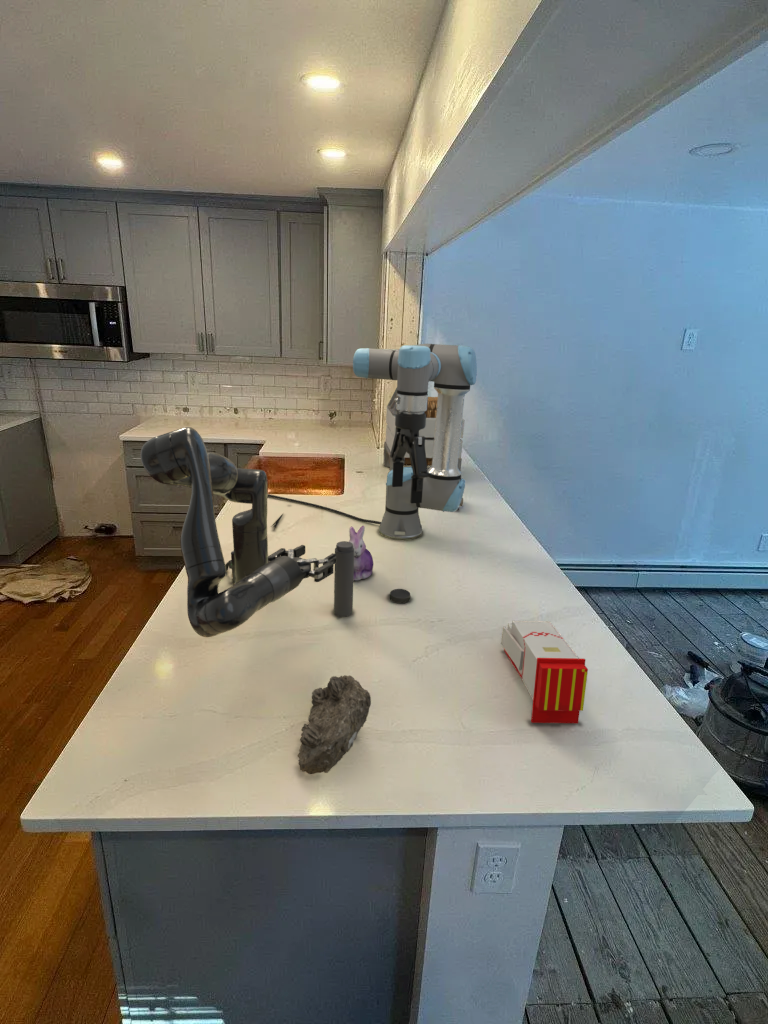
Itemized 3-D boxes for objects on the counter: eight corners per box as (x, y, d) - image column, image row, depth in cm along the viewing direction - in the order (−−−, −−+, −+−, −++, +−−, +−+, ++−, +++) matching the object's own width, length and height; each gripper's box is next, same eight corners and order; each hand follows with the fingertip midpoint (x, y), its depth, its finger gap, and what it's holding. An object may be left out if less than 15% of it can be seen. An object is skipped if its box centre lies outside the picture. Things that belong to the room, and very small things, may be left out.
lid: (395, 605, 152) (395, 599, 151) (386, 595, 157) (386, 590, 156) (413, 601, 154) (414, 596, 154) (404, 592, 159) (404, 587, 158)
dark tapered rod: (290, 508, 223) (292, 504, 223) (272, 532, 197) (275, 527, 196) (286, 505, 223) (289, 501, 223) (268, 529, 197) (271, 525, 196)
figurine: (351, 584, 162) (352, 535, 157) (337, 569, 170) (338, 523, 165) (380, 578, 166) (383, 531, 161) (365, 564, 174) (367, 519, 169)
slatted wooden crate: (382, 463, 289) (386, 382, 275) (445, 464, 293) (451, 384, 279) (390, 482, 257) (394, 392, 243) (460, 483, 261) (468, 394, 247)
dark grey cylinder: (333, 616, 145) (334, 547, 138) (334, 607, 149) (335, 540, 143) (351, 617, 145) (353, 548, 138) (353, 608, 149) (354, 540, 143)
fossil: (305, 676, 114) (363, 644, 109) (335, 707, 117) (393, 676, 112) (276, 768, 94) (345, 733, 89) (313, 802, 97) (382, 770, 92)
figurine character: (463, 515, 225) (458, 499, 238) (465, 497, 221) (460, 482, 235) (446, 514, 224) (442, 498, 238) (448, 497, 221) (444, 482, 235)
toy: (547, 606, 135) (596, 665, 106) (541, 658, 138) (589, 729, 108) (496, 604, 134) (532, 664, 105) (492, 657, 137) (526, 729, 108)
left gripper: (302, 572, 113) (345, 545, 126) (247, 555, 119) (294, 531, 132) (302, 605, 115) (345, 575, 129) (248, 587, 122) (294, 560, 135)
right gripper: (380, 403, 148) (377, 481, 155) (415, 421, 126) (410, 511, 133) (407, 403, 151) (402, 479, 158) (446, 421, 128) (439, 509, 136)
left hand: (319, 553), depth 131 cm, fingers open, 8 cm apart
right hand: (406, 494), depth 146 cm, fingers open, 13 cm apart
